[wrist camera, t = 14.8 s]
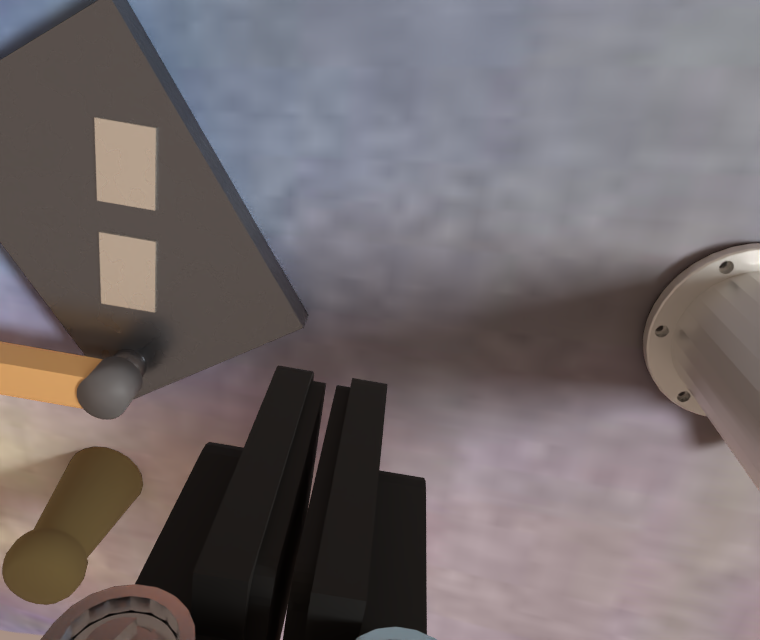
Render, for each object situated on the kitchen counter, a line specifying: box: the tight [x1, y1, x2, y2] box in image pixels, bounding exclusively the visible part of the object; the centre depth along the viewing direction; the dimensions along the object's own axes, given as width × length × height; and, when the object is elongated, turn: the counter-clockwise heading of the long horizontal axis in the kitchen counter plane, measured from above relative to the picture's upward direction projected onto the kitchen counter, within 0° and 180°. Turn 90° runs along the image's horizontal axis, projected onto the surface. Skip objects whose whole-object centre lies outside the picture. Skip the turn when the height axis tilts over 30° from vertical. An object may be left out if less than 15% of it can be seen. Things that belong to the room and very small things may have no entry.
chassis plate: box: [0, 0, 308, 399], centre depth 41 cm, size 22×15×4 cm
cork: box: [2, 447, 143, 605], centre depth 47 cm, size 6×6×11 cm
